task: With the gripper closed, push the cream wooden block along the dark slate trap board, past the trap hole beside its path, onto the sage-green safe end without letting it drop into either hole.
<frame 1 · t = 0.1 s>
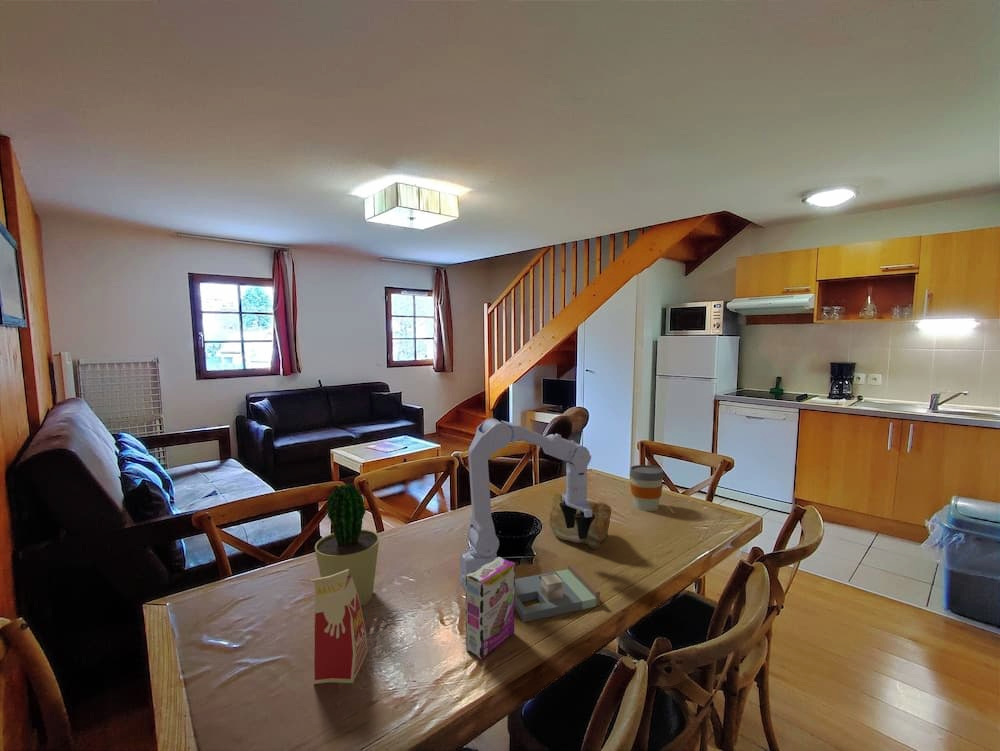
hand: (576, 532, 127), 10 cm above the table, fingers open, 7 cm apart
trap board: (549, 596, 113), on the table
candy bar box: (491, 642, 96), on the table
reusable coffee cup: (645, 507, 174), on the table
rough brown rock: (587, 539, 146), on the table
milk carton: (338, 667, 89), on the table
block: (551, 594, 110), point 2 cm above the table, touching trap board
potted cactus: (349, 598, 113), on the table
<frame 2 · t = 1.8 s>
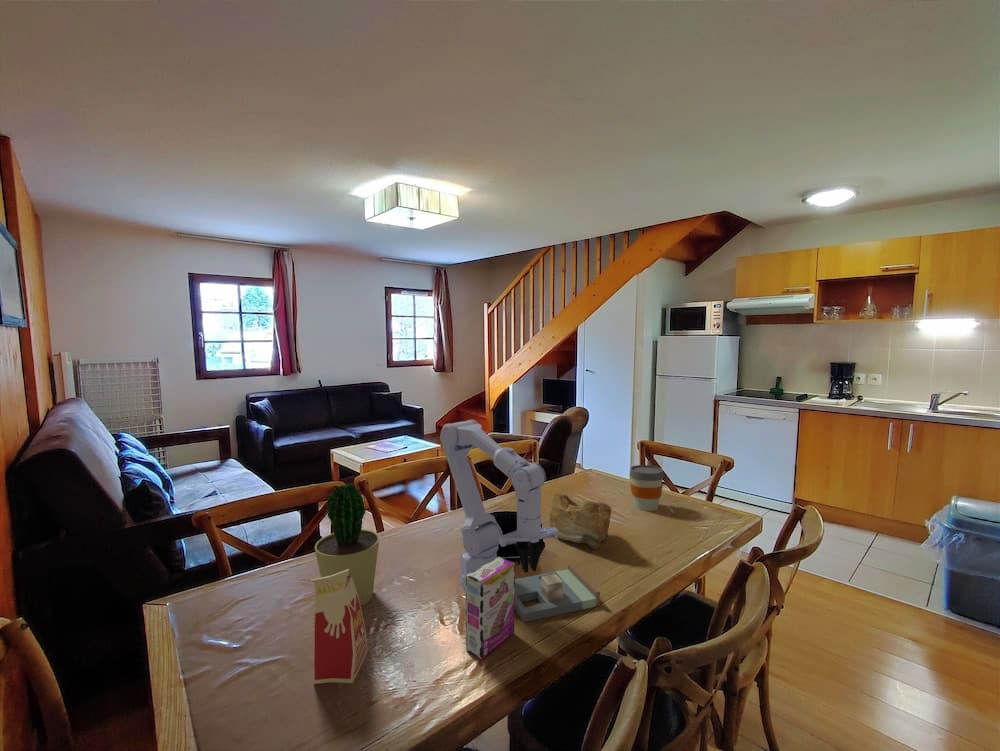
hand: (529, 569, 108), 9 cm above the table, fingers closed
nothing on the table moved.
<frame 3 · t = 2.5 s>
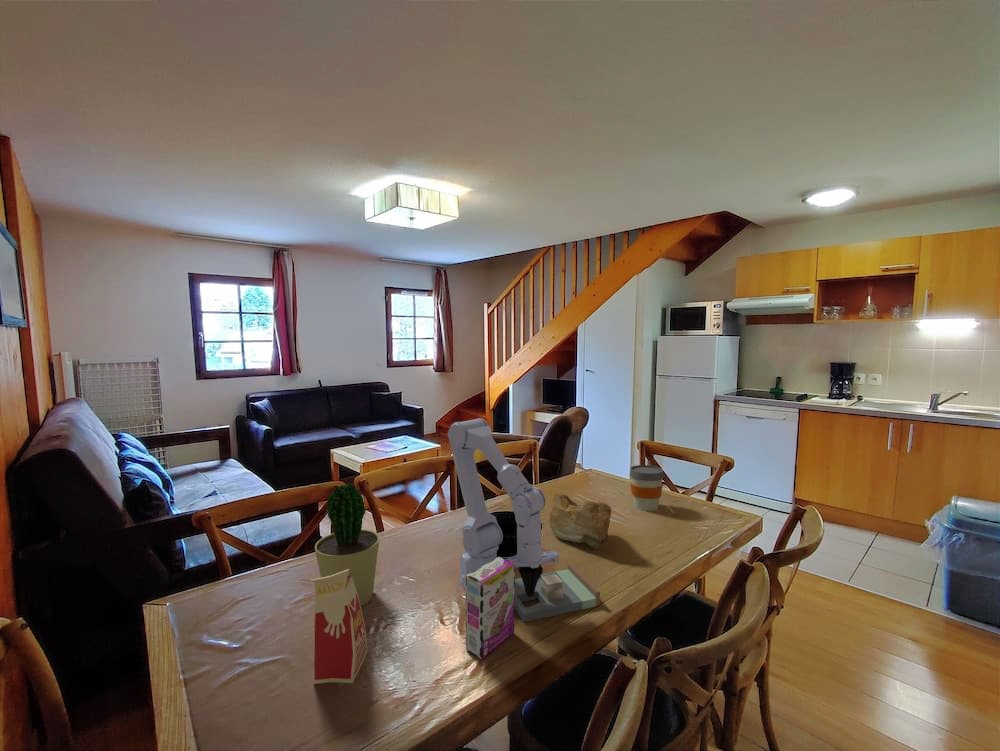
hand: (529, 594, 108), 3 cm above the table, fingers closed
nothing on the table moved.
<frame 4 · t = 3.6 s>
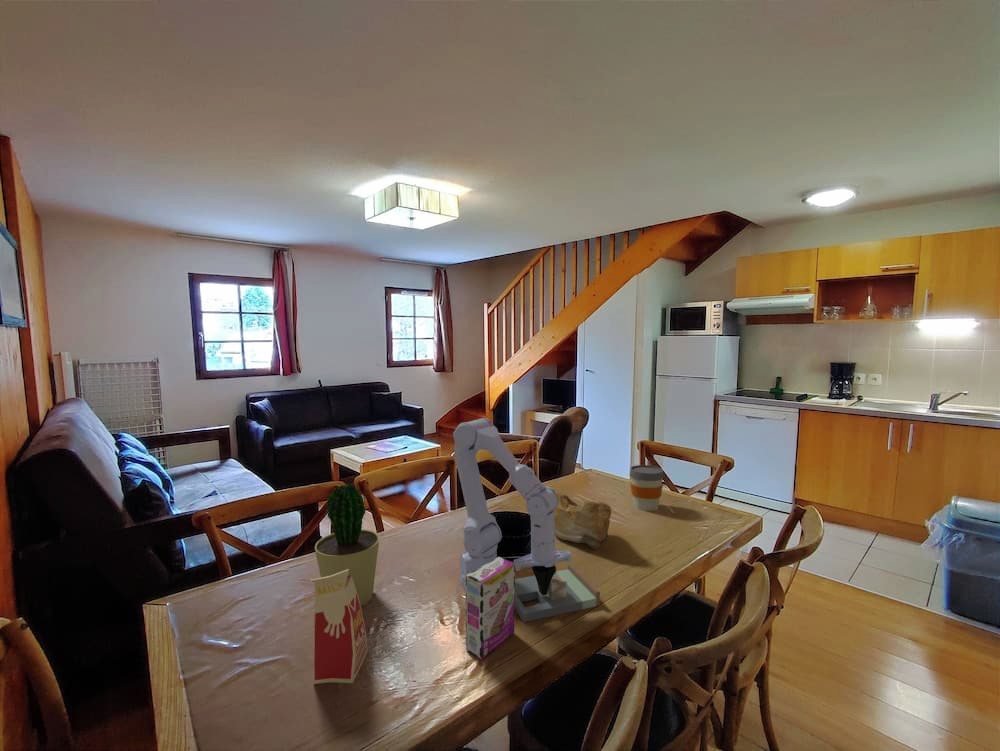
hand: (543, 593, 109), 3 cm above the table, fingers closed
block: (555, 594, 110), point 2 cm above the table, touching gripper, trap board
everything else where it was.
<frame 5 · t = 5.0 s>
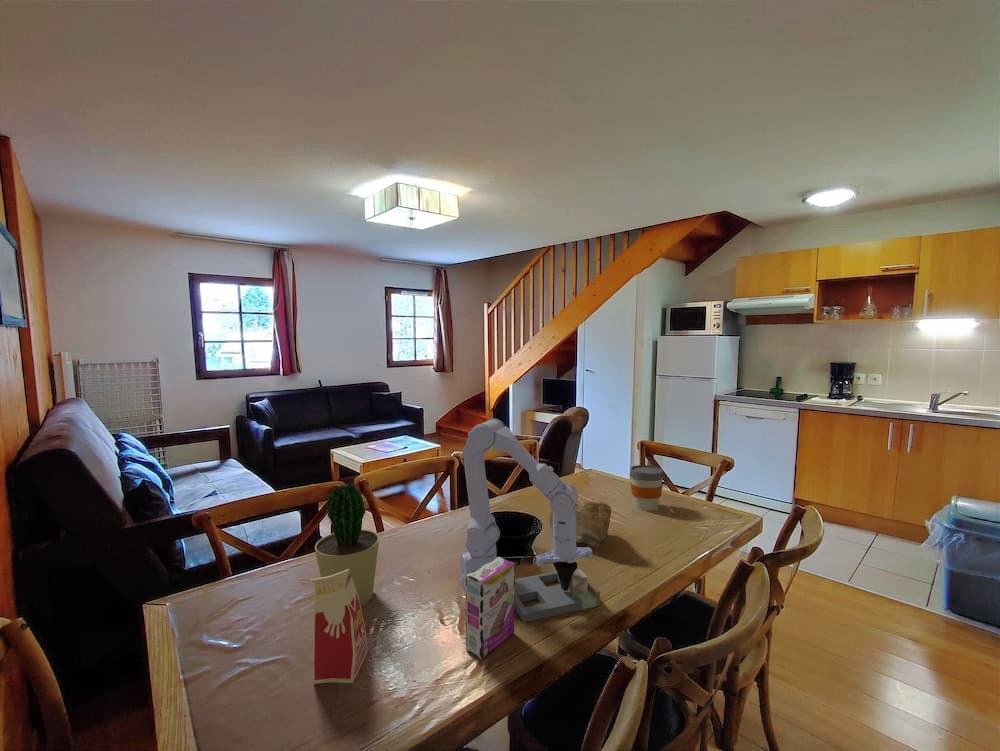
hand: (564, 588, 111), 3 cm above the table, fingers closed
block: (576, 589, 112), point 2 cm above the table, touching gripper, trap board
everything else where it was.
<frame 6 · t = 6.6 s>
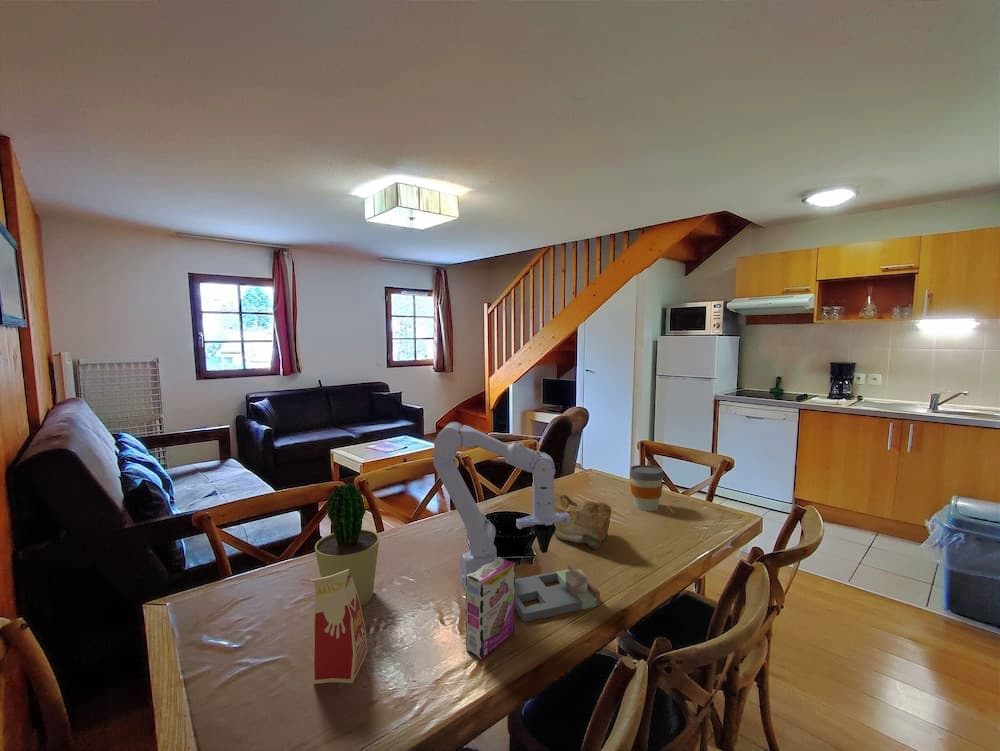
hand: (543, 551, 117), 9 cm above the table, fingers closed
block: (576, 589, 112), point 2 cm above the table, touching trap board
everything else where it was.
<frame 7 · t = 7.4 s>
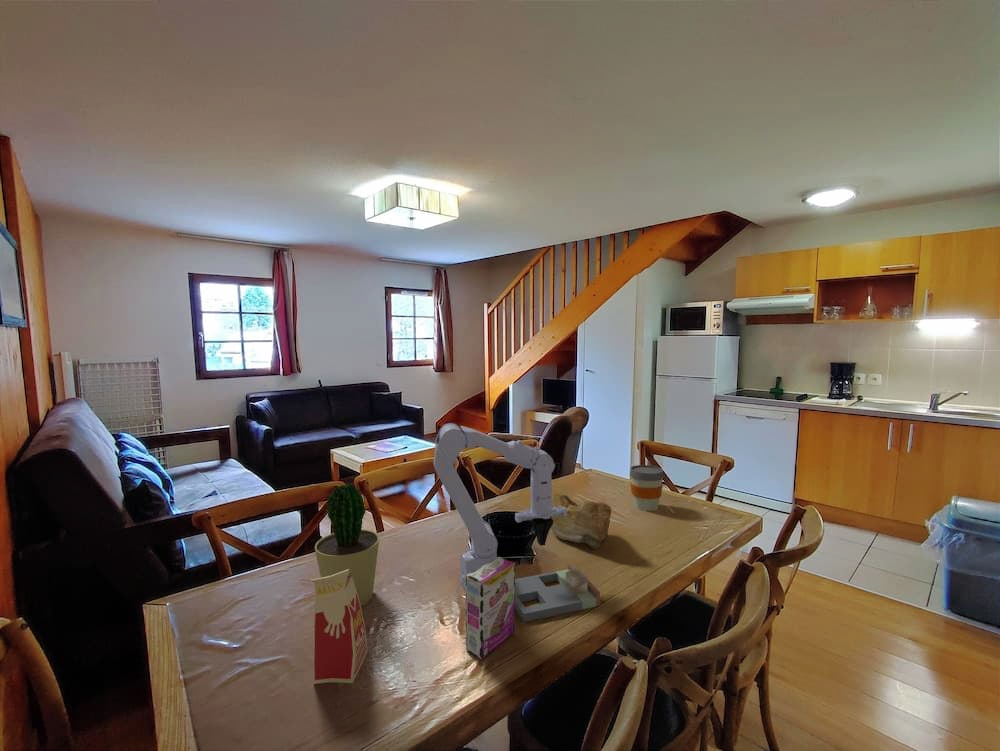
hand: (541, 543, 122), 9 cm above the table, fingers closed
nothing on the table moved.
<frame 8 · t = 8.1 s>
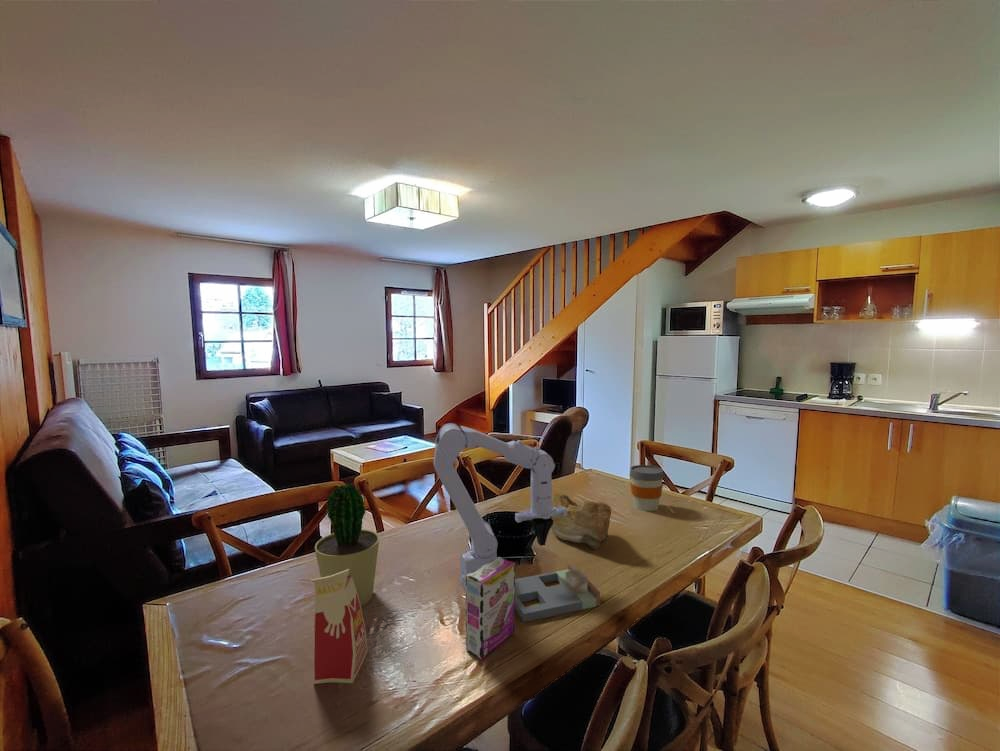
hand: (541, 543, 122), 9 cm above the table, fingers closed
nothing on the table moved.
at the end: block 0.4 cm from the target spot on the trap board, point 2.0 cm above the trap board's base; block tilted 0°; block touching trap board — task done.
